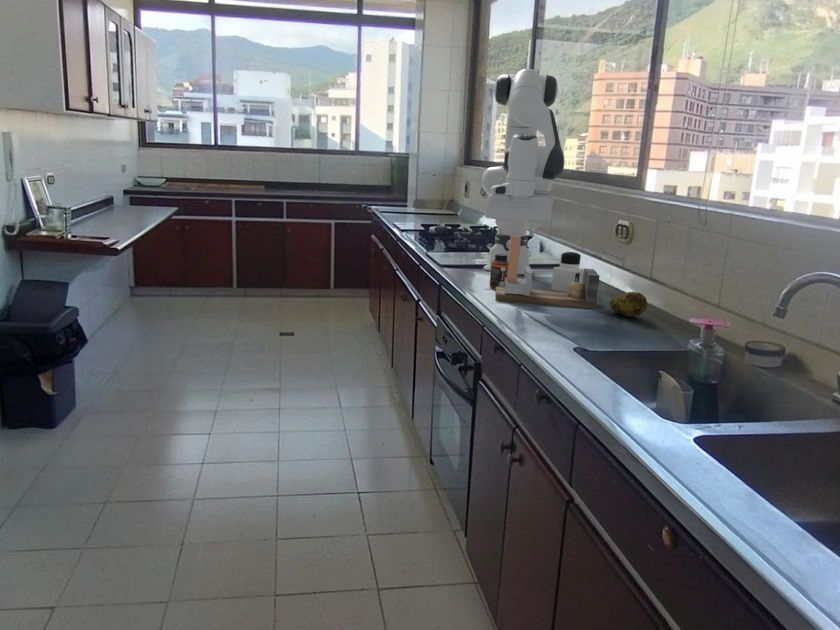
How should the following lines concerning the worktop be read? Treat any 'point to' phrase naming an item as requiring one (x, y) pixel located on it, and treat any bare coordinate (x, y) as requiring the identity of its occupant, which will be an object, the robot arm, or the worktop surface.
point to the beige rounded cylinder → (576, 290)
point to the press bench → (558, 294)
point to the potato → (629, 304)
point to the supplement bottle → (498, 271)
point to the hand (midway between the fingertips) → (515, 235)
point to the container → (567, 272)
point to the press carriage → (516, 271)
